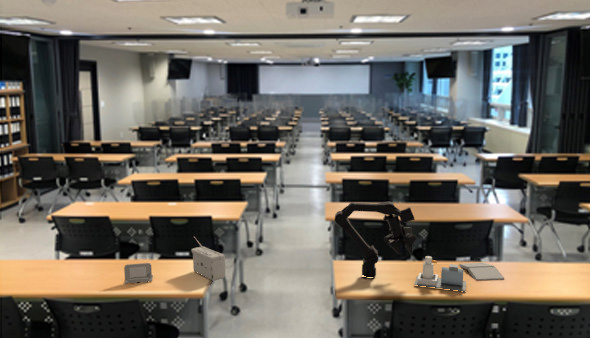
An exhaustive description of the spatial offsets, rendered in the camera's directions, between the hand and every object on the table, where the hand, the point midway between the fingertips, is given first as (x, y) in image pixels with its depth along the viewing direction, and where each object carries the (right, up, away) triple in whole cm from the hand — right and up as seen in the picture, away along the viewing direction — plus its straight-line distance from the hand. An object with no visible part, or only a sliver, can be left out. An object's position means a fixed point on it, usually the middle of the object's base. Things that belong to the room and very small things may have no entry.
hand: (404, 254), depth 260 cm
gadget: (+42, -12, +9) cm, 45 cm away
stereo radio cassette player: (-102, -13, +8) cm, 103 cm away
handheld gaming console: (-137, -14, +2) cm, 137 cm away
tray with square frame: (+16, -14, -8) cm, 22 cm away
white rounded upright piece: (+10, -13, -6) cm, 17 cm away
